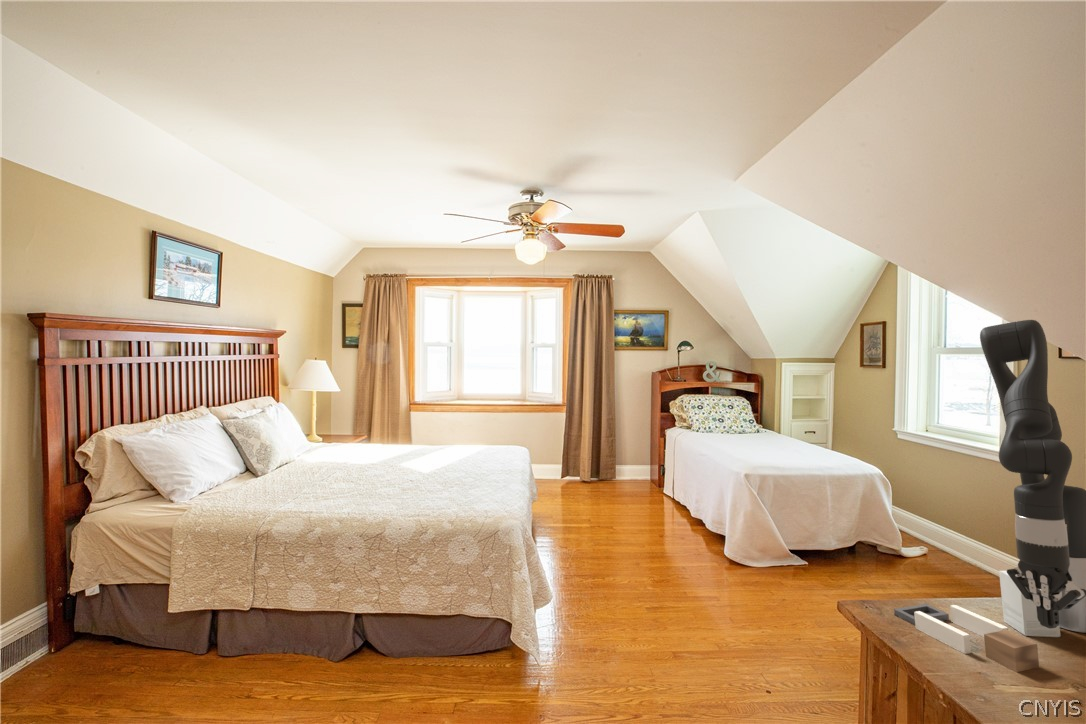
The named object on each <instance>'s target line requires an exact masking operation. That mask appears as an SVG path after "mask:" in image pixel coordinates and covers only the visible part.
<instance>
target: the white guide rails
mask: <svg viewBox="0 0 1086 724" xmlns="http://www.w3.org/2000/svg"><path fill="white" fill-rule="evenodd" d="M949 610H950V612H949V613H950V621H951V623H952V622H953V624H955V625H957V626H959V627H961V628H964V629H965V630H967V631H969V632H971V633H974V634H976V635H978V636H980V637H983V638H984V634H988V633H993V632H998V631H1003V630H1007V631H1009V627H1007V626H1005V625H1004V624H1001V623H998V622H997V621H993V620H991V619H989V618H987V617H984V616H982V615H981V614H978V613H975V612H974V611H973V612H972V611H970V610H968V609H966V608H964V607H961V606H960V605H956V604H952V605H949ZM914 615H915V625H914V626H915V629H916V630H917V631H920V632H922V633H924V634H926V635H927V636H929V637H930V638H933V639H935V640H937V641H939V642H941V643H943V644H944V645H947V646H949V647H950V648H952V649H955V650H957V651H958V652H960V653H962V654H964V655H967V654H971V653H972V649H971V640H970V637H971V636H970V634H969V633H967V632H965V631H963V630H961V629H959V628H956V627H954V626H953V625H950V624H948V623H946V622H944V621H940V620H938V619H936V618H933V617H931V616H929V615H927V614H925V613H923V612H921V611H916V612H914Z"/></svg>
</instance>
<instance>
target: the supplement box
mask: <svg viewBox="0 0 1086 724" xmlns="http://www.w3.org/2000/svg"><path fill="white" fill-rule="evenodd" d="M998 573H999V583H1000V584H999V585H1000V594H1001V603H1002V604H1001V605H1002V616H1003V622H1004V623H1005V624H1007V625H1008V626H1010V627H1012V628H1013V629H1015V630H1016V631H1018V632H1019V633H1020V634H1022V635H1023V636H1024V637H1025V636H1026V637H1041V638H1042V637H1046V638H1050V637H1051V638H1060V637H1061V629H1060V628H1061V627H1060V626H1057V627H1056V628H1051V629H1050V628H1047V627H1045V626H1042V625H1041V624H1040V621H1038V618H1037V607H1036V605H1035V604H1034V602H1033V601H1032V600H1030V599H1026V598H1025V597H1024V596H1023V594H1022V593H1021V592H1020V590H1019V589H1018V587H1017V586H1016V585H1015V583H1014V582H1013V580H1012V579H1011V578H1010V576H1009V575H1008V573H1007V570H998ZM1026 589H1027V588H1026Z"/></svg>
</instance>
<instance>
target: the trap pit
mask: <svg viewBox="0 0 1086 724" xmlns="http://www.w3.org/2000/svg"><path fill="white" fill-rule="evenodd" d="M916 611H921V612H923V613H925V614H927V615H929V616H931V617H933V618H936V619H938V620H940V621H942V622H944V620H946V621H950V614H949V613H947V612H946V611H944V610H941V609H939V608H936V607H934V606H932V605H930V604H928V603H923V604H921V603H920V604H917V605H916V604H915V605H910V606H905V607H897V608H893V613H894V616H896V617H898V618H899V619H902V620H904V621H905V622H908V623H909V624H912V625H913V626H915V615H914V612H916Z"/></svg>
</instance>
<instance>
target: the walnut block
mask: <svg viewBox="0 0 1086 724" xmlns="http://www.w3.org/2000/svg"><path fill="white" fill-rule="evenodd" d="M983 638H984V639H983V640H984V649H985V650H984V651H985V658H987V659H988V660H989V659H990V660H991V661H994V662H995V663H997V664H1000V665H1001V666H1004V667H1005V668H1008V669H1009V670H1011V671H1013V672H1016V673H1019V672H1023V671H1028V670H1033V669H1039V668H1040V657H1039V651H1038V643H1037V642H1034V641H1032V640H1030V639H1027V638H1025V637H1023V636H1022V635H1021V636H1020V635H1018V634H1016V633H1014V632H1012V631H1009V630H1008V631H1007V630H1003V631H998V632H993V633H988V634H984V637H983Z"/></svg>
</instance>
